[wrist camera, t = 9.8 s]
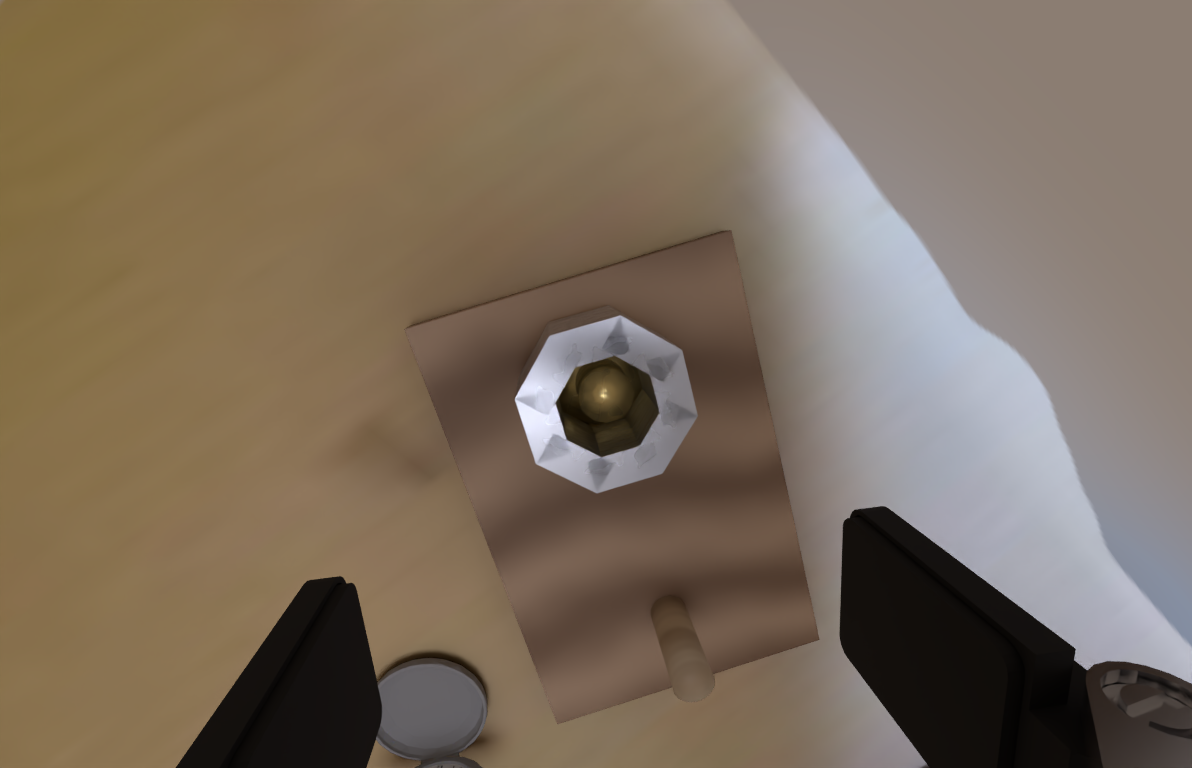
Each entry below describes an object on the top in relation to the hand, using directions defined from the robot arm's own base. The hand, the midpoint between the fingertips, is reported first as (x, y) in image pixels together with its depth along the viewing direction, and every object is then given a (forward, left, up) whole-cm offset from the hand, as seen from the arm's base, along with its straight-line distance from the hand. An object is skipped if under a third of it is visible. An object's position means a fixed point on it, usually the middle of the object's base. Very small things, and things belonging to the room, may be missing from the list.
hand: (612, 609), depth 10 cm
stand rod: (-14, -2, -17) cm, 22 cm away
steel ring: (0, -1, -16) cm, 16 cm away
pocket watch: (-17, +13, -19) cm, 29 cm away
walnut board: (-7, -2, -18) cm, 20 cm away
